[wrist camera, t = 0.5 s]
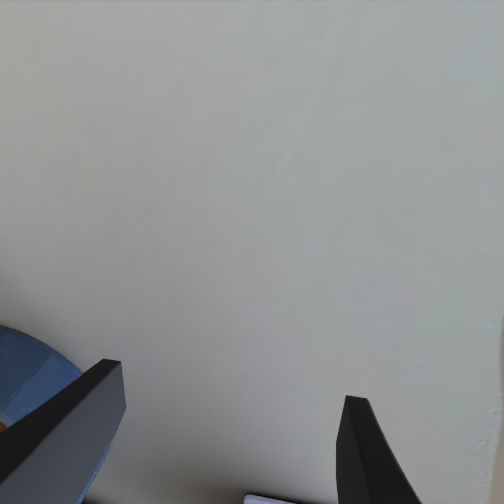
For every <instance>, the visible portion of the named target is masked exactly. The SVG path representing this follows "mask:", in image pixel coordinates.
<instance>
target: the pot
mask: <svg viewBox="0 0 504 504" xmlns="http://www.w3.org/2000/svg"><path fill="white" fill-rule="evenodd" d="M81 375H82V373H81V372H80V371H79V370H78V369H77V368H76V367H75V366H74V365H73V364H72V363H71V362H69V361H68V360H67V359H66V358H64V357H63V356H62V355H61V354H59V353H58V352H56V351H55V350H53V349H52V348H50V347H49V346H47V345H45V344H43V343H41V342H40V341H38V340H36V339H34V338H32V337H30V336H27V335H25V334H23V333H20V332H18V331H14V330H11V329H8V328H5V327H1V326H0V421H1V422H2V423H3V424H4V425H6V426H7V427H9V426H11V425H13V424H14V423H16V422H17V421H19V420H20V419H22V418H23V417H24V416H26V415H27V414H29V413H30V412H32V411H33V410H35V409H36V408H38V407H39V406H41V405H42V404H43V403H45V402H46V401H48V400H49V399H50V398H52V397H53V396H54V395H56V394H57V393H58V392H60V391H61V390H62V389H64V388H65V387H66V386H68V385H69V384H70V383H72V382H73V381H74V380H76V379H77V378H78V377H80V376H81ZM109 449H110V445H109V447H108V449H107V451H106V452H105V454H104V456H103V458H102V459H101V461H100V463H99V465H98V467H97V468H96V470H95V472H94V474H93V475H92V477H91V479H90V481H89V482H88V484H87V486H86V488H85V489H84V491H83V493H82V495H81V496H80V498H79V500H78V502H77V503H76V504H81V502H82V500H83V498H84V496H85V494H86V493H87V491H88V489H89V487H90V485H91V483H92V481H93V479H94V478H95V476H96V474H97V472H98V470H99V468H100V466H101V464H102V463H103V461H104V459H105V457H106V455H107V453H108V451H109Z"/></svg>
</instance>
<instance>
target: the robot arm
mask: <svg viewBox="0 0 504 504" xmlns="http://www.w3.org/2000/svg"><path fill="white" fill-rule="evenodd" d="M125 409H126V403H125V394H124V385H123V376H122V366H121V361H116V360H109V359H102V360H101V361H99V362H98V363H97V364H95V365H94V366H93V367H91V368H90V369H89V370H87V371H86V372H85V373H83V374H82V375H81V376H80V377H78V378H77V379H76V380H74V381H73V382H72V383H70V384H69V385H68V386H66V387H65V388H64V389H62V390H61V391H60V392H58V393H57V394H56V395H54V396H53V397H52V398H50V399H49V400H48V401H46V402H45V403H43V404H42V405H41V406H39V407H38V408H36V409H35V410H33V411H32V412H30V413H29V414H27V415H26V416H24V417H23V418H22V419H20V420H19V421H17V422H16V423H14V424H13V425H11V426H9V427H8V428H6V429H5V430H3V431H1V432H0V504H76V503H77V502H78V500H79V498H80V496H81V495H82V493H83V491H84V489H85V488H86V486H87V484H88V482H89V481H90V479H91V477H92V475H93V474H94V472H95V470H96V468H97V467H98V465H99V463H100V461H101V459H102V458H103V456H104V454H105V452H106V451H107V449H108V447H109V445H110V443H111V441H112V440H113V438H114V435H115V433H116V431H117V429H118V426H119V424H120V421H121V419H122V416H123V414H124V412H125ZM336 481H337V492H338V502H339V504H422V503H421V501H420V500H419V498H418V496H417V495H416V493H415V491H414V490H413V488H412V486H411V485H410V483H409V481H408V480H407V478H406V476H405V474H404V473H403V471H402V469H401V467H400V465H399V464H398V462H397V460H396V458H395V456H394V454H393V452H392V450H391V449H390V447H389V445H388V443H387V441H386V439H385V437H384V434H383V432H382V430H381V428H380V426H379V424H378V422H377V419H376V417H375V415H374V412H373V410H372V407H371V405H370V402H369V401H368V400H367V398H360V397H354V396H347V395H346V398H345V403H344V407H343V412H342V417H341V422H340V427H339V431H338V436H337V441H336ZM244 504H295V503H290V502H285V501H280V500H275V499H270V498H265V497H260V496H255V495H246V496H245V498H244Z"/></svg>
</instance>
